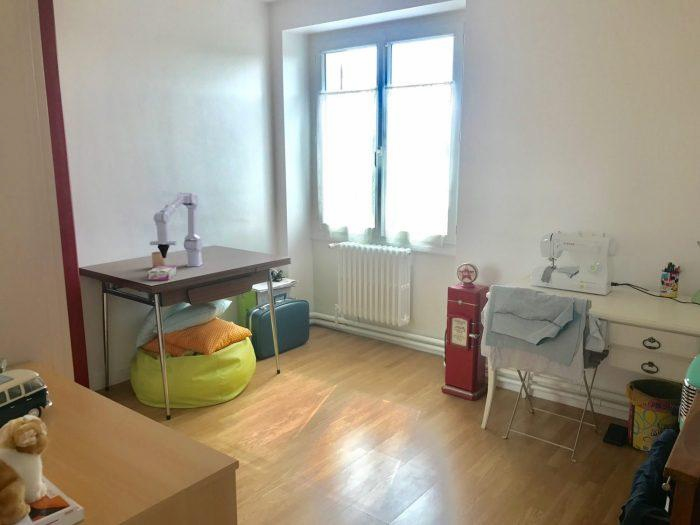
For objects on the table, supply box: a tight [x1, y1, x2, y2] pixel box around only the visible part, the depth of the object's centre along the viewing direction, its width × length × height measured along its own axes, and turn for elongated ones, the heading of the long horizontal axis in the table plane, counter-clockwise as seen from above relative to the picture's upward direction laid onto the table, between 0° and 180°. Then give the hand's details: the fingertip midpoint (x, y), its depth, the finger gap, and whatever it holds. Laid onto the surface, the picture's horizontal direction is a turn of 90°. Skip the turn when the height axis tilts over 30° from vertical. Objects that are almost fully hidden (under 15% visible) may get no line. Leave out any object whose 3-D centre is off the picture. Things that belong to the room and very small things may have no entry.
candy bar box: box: [147, 264, 177, 281], centre depth 306 cm, size 11×5×16 cm
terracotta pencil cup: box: [151, 251, 166, 268], centre depth 331 cm, size 7×7×9 cm
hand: (164, 257), depth 311 cm, fingers closed
